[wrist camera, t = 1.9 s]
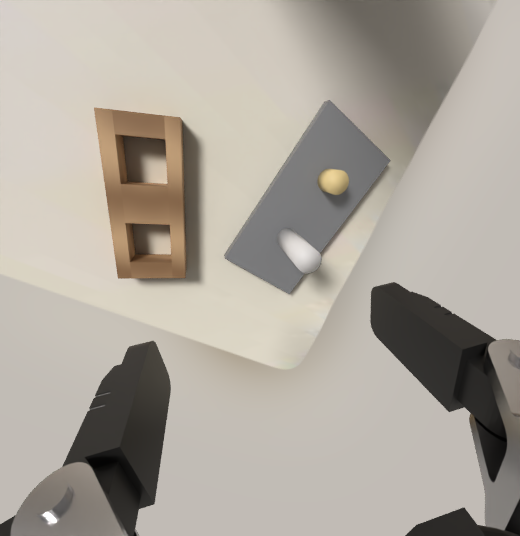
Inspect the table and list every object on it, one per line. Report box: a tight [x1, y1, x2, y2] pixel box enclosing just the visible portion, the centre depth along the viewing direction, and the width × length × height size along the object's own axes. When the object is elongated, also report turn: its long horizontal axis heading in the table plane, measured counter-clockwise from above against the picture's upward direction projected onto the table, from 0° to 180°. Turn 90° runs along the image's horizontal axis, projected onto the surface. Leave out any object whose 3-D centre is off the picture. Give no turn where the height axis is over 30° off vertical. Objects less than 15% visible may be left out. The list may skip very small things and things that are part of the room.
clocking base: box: [224, 100, 391, 294], centre depth 22 cm, size 8×16×7 cm, turn 146°
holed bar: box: [94, 108, 187, 278], centre depth 22 cm, size 13×6×2 cm, turn 175°
